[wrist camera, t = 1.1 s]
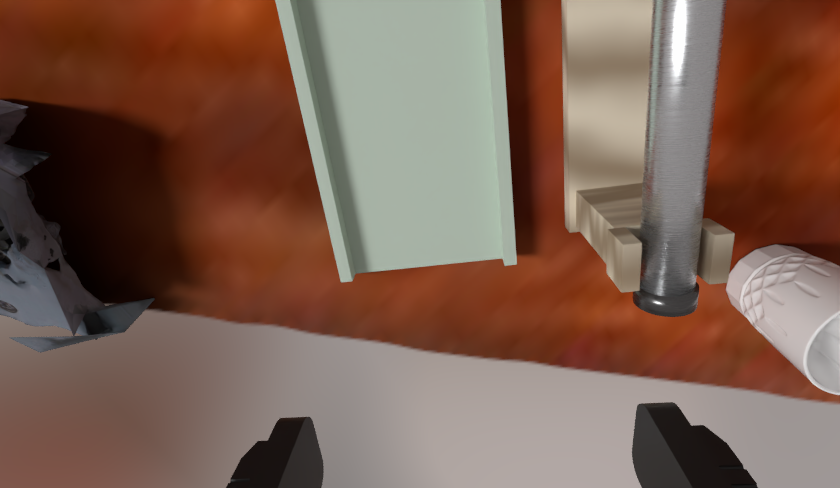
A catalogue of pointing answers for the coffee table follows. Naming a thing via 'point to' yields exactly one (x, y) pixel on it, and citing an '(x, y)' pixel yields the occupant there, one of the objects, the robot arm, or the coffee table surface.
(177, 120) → the coffee table surface
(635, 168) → the rack
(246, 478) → the robot arm
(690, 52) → the steel rod
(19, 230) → the grey mechanical device
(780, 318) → the white cup
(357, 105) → the mat tray
